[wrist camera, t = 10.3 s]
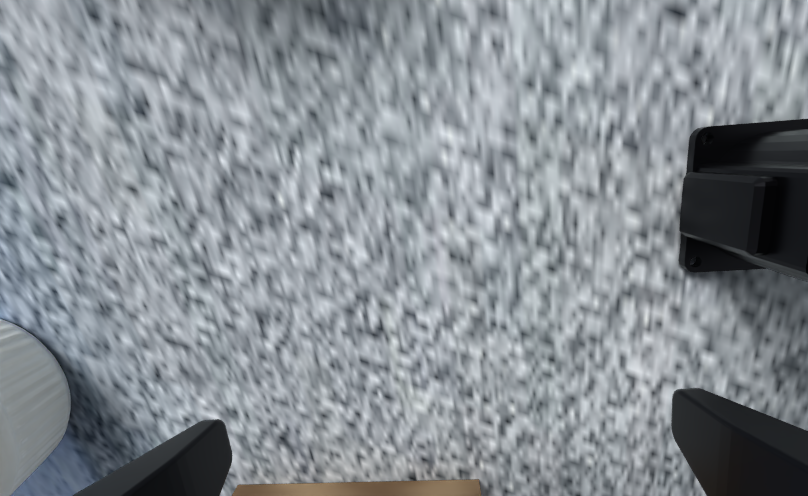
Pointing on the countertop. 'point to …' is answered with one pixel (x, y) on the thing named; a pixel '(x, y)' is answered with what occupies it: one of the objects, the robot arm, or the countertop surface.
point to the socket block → (365, 489)
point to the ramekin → (28, 405)
